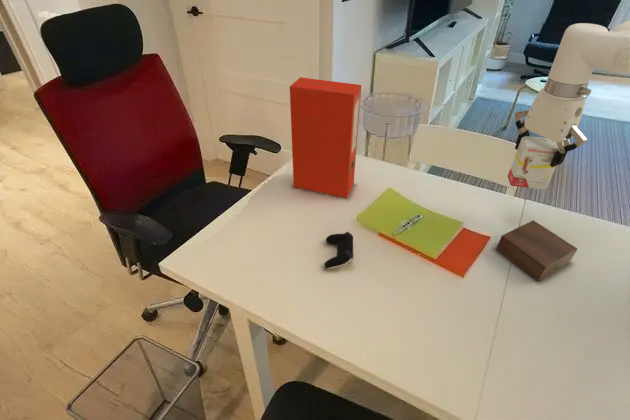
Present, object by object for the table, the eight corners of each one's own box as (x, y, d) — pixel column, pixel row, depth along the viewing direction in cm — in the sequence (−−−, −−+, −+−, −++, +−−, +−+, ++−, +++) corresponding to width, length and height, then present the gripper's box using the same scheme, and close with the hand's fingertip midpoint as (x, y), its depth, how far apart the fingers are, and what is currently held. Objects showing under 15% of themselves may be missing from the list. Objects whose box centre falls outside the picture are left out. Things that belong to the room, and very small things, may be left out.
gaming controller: (334, 277, 91) (356, 264, 88) (322, 267, 89) (344, 254, 86) (335, 245, 99) (356, 233, 96) (324, 236, 97) (344, 223, 94)
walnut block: (526, 234, 100) (533, 220, 96) (569, 263, 91) (578, 248, 88) (495, 249, 95) (501, 235, 92) (537, 281, 87) (545, 267, 84)
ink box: (509, 186, 95) (524, 144, 88) (507, 176, 99) (521, 135, 92) (546, 190, 93) (565, 148, 86) (542, 180, 97) (559, 139, 90)
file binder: (303, 174, 122) (300, 76, 102) (353, 184, 118) (361, 84, 98) (293, 187, 117) (289, 86, 96) (346, 198, 112) (353, 95, 92)
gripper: (615, 96, 76) (580, 168, 87) (539, 73, 88) (516, 138, 99) (594, 104, 73) (560, 177, 84) (518, 79, 85) (497, 145, 96)
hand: (536, 156), depth 91 cm, fingers closed on ink box, 9 cm apart
